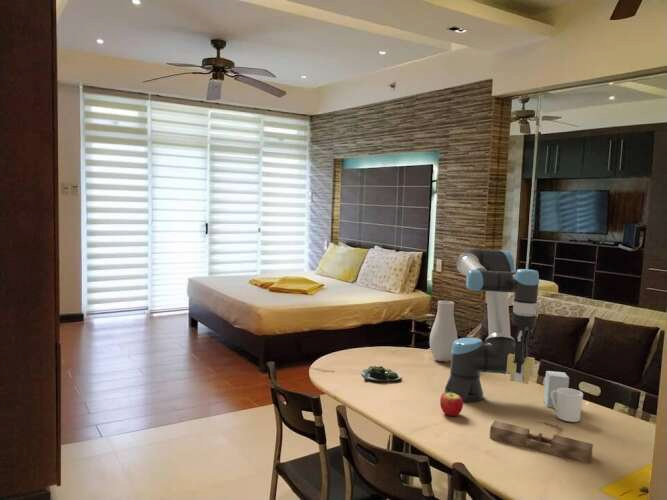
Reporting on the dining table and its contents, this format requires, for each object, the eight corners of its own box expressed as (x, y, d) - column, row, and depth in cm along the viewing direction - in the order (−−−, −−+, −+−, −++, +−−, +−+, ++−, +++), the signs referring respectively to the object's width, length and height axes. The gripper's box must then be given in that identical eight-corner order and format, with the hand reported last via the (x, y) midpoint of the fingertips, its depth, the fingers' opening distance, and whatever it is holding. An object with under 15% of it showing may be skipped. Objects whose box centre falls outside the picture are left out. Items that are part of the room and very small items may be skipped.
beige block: (505, 380, 182) (507, 355, 182) (507, 378, 185) (509, 353, 184) (531, 385, 178) (533, 359, 177) (532, 383, 181) (534, 357, 180)
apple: (447, 408, 196) (448, 382, 196) (467, 415, 190) (468, 388, 190) (434, 413, 191) (436, 387, 190) (454, 421, 185) (456, 393, 184)
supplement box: (567, 409, 202) (569, 377, 201) (546, 407, 203) (549, 375, 202) (562, 402, 209) (565, 372, 208) (543, 400, 210) (545, 370, 209)
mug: (579, 416, 195) (581, 390, 194) (582, 425, 186) (584, 397, 186) (547, 411, 198) (550, 385, 198) (549, 420, 190) (551, 392, 189)
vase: (428, 362, 257) (432, 302, 254) (428, 355, 270) (431, 298, 268) (457, 365, 254) (461, 305, 252) (455, 358, 268) (459, 300, 266)
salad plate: (353, 370, 239) (354, 360, 239) (390, 369, 243) (390, 360, 243) (365, 384, 220) (366, 373, 220) (405, 383, 225) (405, 373, 224)
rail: (489, 437, 172) (490, 426, 171) (494, 431, 177) (494, 420, 177) (590, 463, 157) (591, 451, 156) (591, 456, 162) (592, 443, 162)
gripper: (531, 319, 171) (526, 388, 173) (539, 312, 185) (534, 376, 186) (508, 315, 175) (503, 384, 176) (517, 309, 189) (512, 372, 190)
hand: (519, 380), depth 181 cm, fingers closed on beige block, 3 cm apart
